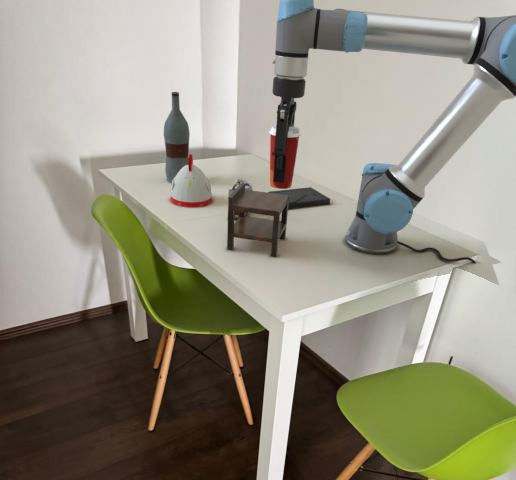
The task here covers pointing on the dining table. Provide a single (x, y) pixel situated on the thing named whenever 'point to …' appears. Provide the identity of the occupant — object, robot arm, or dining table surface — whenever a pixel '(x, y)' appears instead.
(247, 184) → the food container
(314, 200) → the picture frame
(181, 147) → the bottle
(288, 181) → the paper cup
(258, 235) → the rack
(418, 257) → the dining table surface
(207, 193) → the kitchen timer
